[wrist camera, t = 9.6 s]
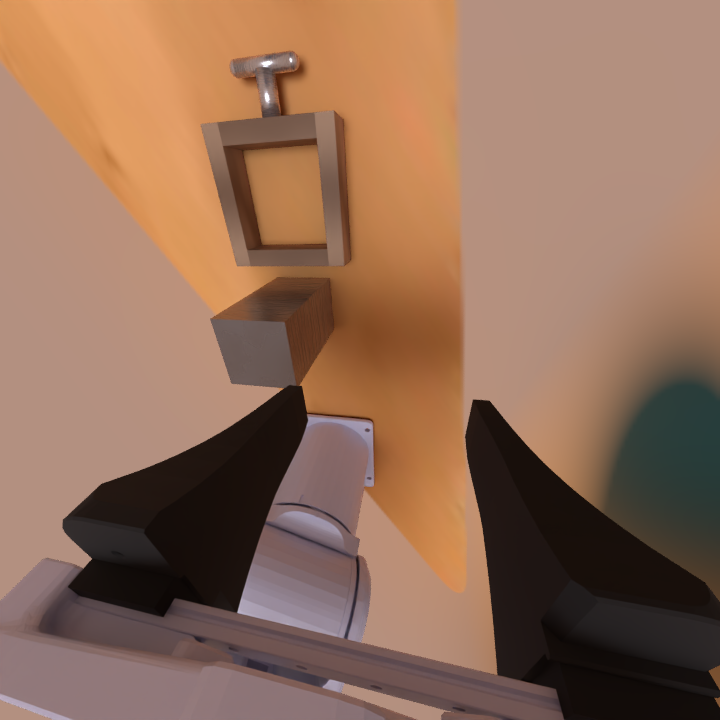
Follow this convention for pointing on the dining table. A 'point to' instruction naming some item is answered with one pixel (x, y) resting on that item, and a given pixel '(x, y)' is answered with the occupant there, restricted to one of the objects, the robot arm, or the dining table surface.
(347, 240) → the walnut clamp block
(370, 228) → the dining table surface
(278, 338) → the steel post
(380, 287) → the dining table surface
